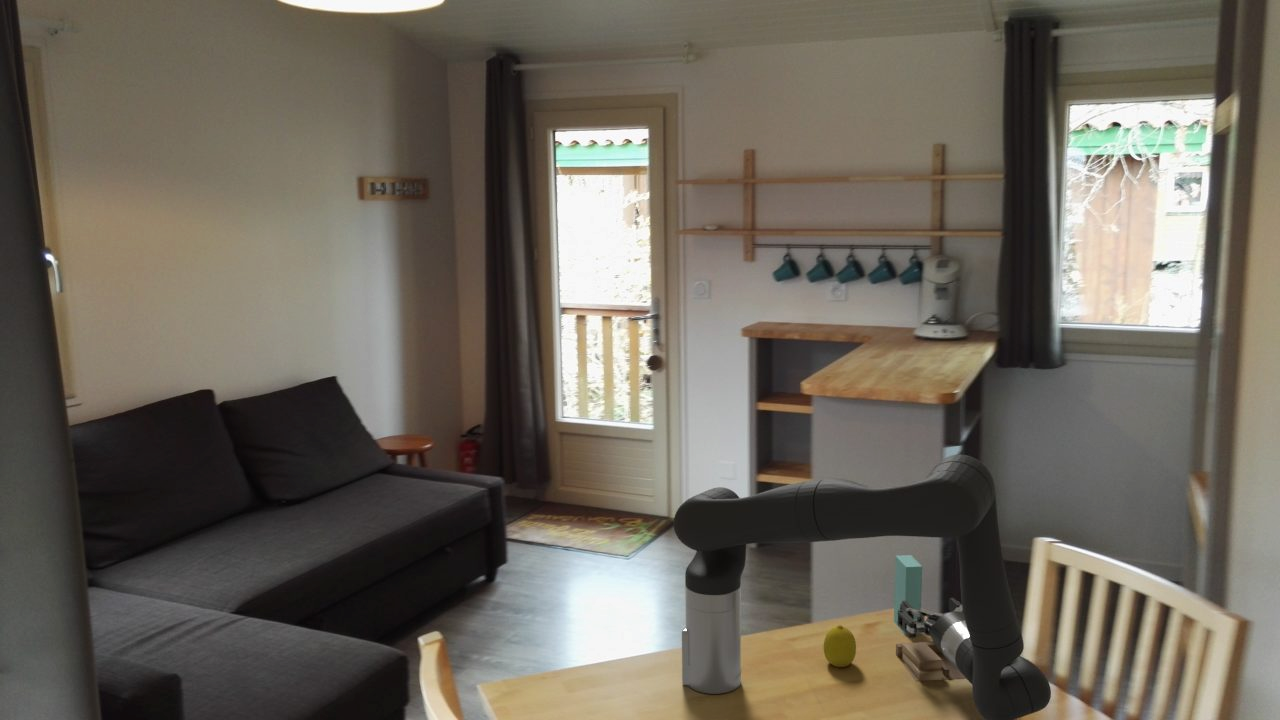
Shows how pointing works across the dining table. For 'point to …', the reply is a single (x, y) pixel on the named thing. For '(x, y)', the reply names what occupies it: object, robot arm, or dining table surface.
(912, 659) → the offcut upper
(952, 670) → the rack
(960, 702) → the dining table surface
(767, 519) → the robot arm
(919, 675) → the offcut lower
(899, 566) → the teal rectangular block
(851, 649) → the lemon
